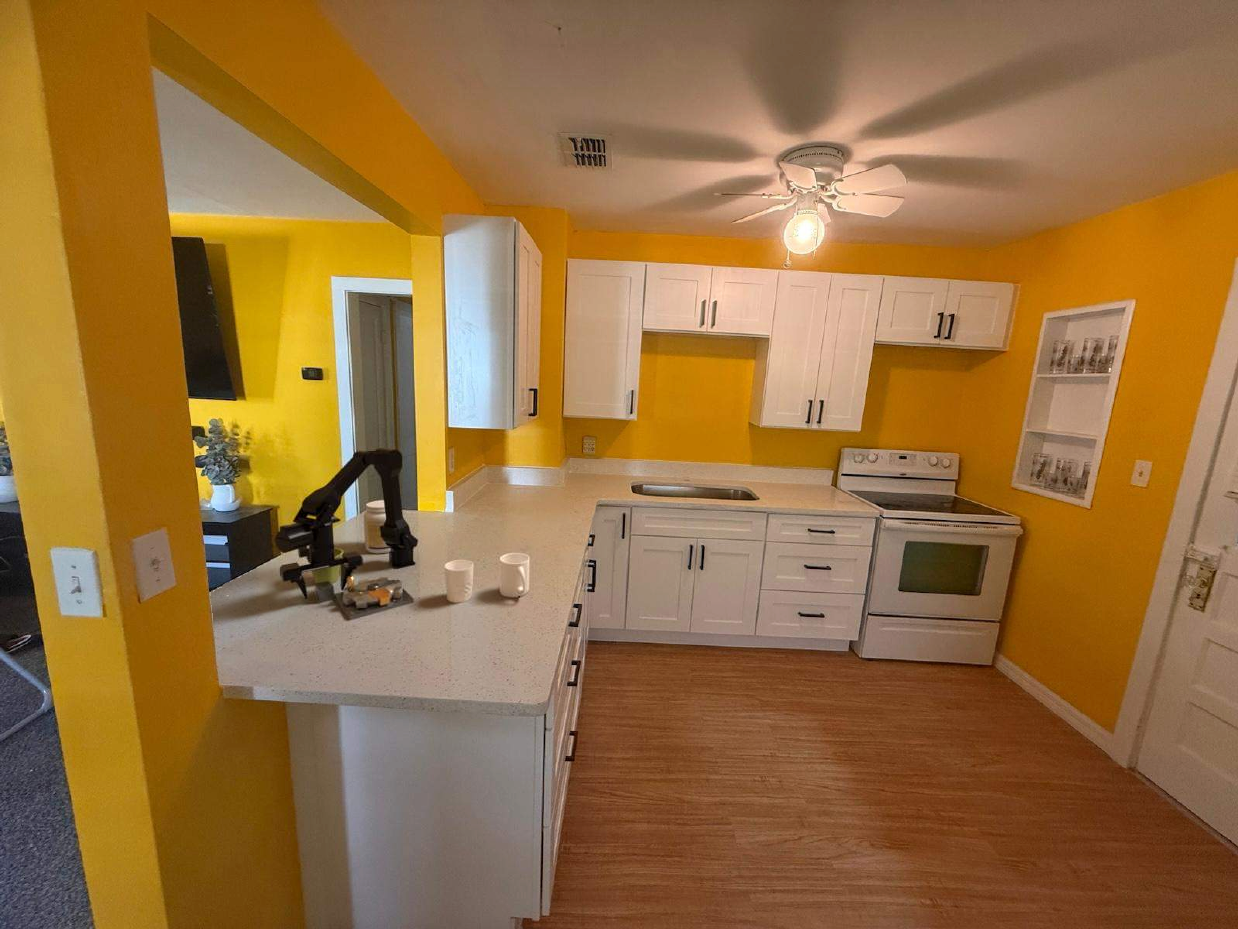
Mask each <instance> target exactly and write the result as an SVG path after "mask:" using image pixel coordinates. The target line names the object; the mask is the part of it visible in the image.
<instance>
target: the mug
mask: <svg viewBox="0 0 1238 929" xmlns="http://www.w3.org/2000/svg"><path fill="white" fill-rule="evenodd" d="M530 560H531V559H530V556H529V554H528V555H527V554H525V553H523V552H522V553H519V552H511V553H506V554H504V555H503V554H502V555H501V556H500V558H499V593H500V594H501V595H502V596H504V597H506V598H519V597H518V596H520V597H523V596H525V595H526V594H528V592H529V588H530Z"/></svg>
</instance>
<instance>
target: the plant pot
mask: <svg viewBox="0 0 1238 929" xmlns="http://www.w3.org/2000/svg"><path fill="white" fill-rule="evenodd" d="M343 553H344V550H343V549H340V548H335V547H334V556H335V559H337V558H342V554H343ZM305 559H306V560H307V557H305ZM308 564H310V562H308ZM340 568H341V565H338V566H333V567H328V568H323V569H318V570H313V571H311V573H312V578H313V581H314V584H316V583H320V582H325V581H330V583H331V584H333V583H335V582H337V581H338V580H339V578H340V577H339V576H340Z"/></svg>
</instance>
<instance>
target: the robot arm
mask: <svg viewBox="0 0 1238 929" xmlns="http://www.w3.org/2000/svg"><path fill="white" fill-rule="evenodd" d="M403 458H404V457H403V453H402V452H401V451H399V450H398V449H396V448H395V449H394V448H386V447H378V448H376V449H375V450H358V451H355V452H354V453H353V454H352V457H351V458H350V459H349V461H347V462H346V464H345V465H343V467H341V469H340V470H339V471H338V472H337V473H336V474H335V475H334V476H333V477H332V478H331V479H330V480H329V482H328V483H326V484H325V485H324V486H322V487H320V488H317V489H315V490H314V491H313V492H311V493H310V494H309V495H307V496H306V497H305V498H304V499H303V500H302V503H301V507H300V508H299V509H298V511H297V513H296V515H295V517H294V518H293V520H292V521H293V522H292V523H290V524H285V525H280V526H279V530H278V532H277V533H276V534H275V537H274V544H275V547H276V548H277V549H278V551H279V552H280V553H283V554H286V553H289V552H292V551H296V550H297V552H298V558H299V559H301V558H306V557H307V559H306V560H307V562H308V564H303V565H299V563H298V562H297V561H295V562H291V563H285V564H281V565H280V567H279V575H280V577H281V579H282V581H283V582H290V583H292V584H294V583H295V584H296V585H297V586H298V588H299V589H300V591H301V593H302V595H303V597H304V599H305V600H308V591H307V586H306V585H307V584H306V580H305V577H304V576H303V573H308V572H312V571H313V570H318V569H323V568H328V567H333V566H338V565H340V590H341V592H344V591H343V590H344V589H345V588H346V587H347V577H348V576H352V574H353V572H354V571H355V570H357V569H358V567H361V566H363V565H364V558H363V556H362V555H361V554H360V552H359V551H357V550H354V551H349V552H343V554H342V556H341V558H337V559H335V556H334V548H335V541H334V540H335V539H334V527H333V526H334V524H335V523H338V522H341V518H339V517H337V516H335V513H337V510H338V509H339V508H340V506H341V504H342V500H343V499H342V497H343V496H344V494H346V492H347V491H348V490H349V489H350V488H351V487H352V486H353V484H354V483H355V482H356V481H357V480H358V479H359V478H360V477H361V476H362V474H364V472H365V471H366V470H367V469H368V468H369V466H372V465H373V468H374V470H375V471H376V473H377V474H378V475H379V477H380V482H381V488H382V489H381V490H382V497H383V500H384V506H385V514H386V521H385V522H384V524H383V525H381V526H380V531H381V535H380V537H382V539H383V541H385V543H386V546H390V549H391V551H389V553H388V561H389V562H388V564H390V565H391V566H392V567H393V568H394V569H401V568H405V567H409V566H414V565H416V562H415V561H414V549H415V548H416V547H418V542H419V540H418V538H416V537H415V536H414V535H413V534H412V532H411V529H410V525H409V523H408V521H406V519H405V518H404V514H403V506H402V499H401V498H402V497H401V488H400V481H399V480H400V479H399V475H400V473H401V470H402V469H403ZM308 516H309V517H308ZM312 517H314V518H312ZM309 562H310V563H309Z"/></svg>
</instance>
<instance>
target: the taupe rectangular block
mask: <svg viewBox="0 0 1238 929" xmlns="http://www.w3.org/2000/svg"><path fill="white" fill-rule="evenodd" d="M313 586H314V597H315V599H316V600H317V602H318V603H319V604H323V603H327V602H330V601H335V598H334V594H335V592H334V589H335V588H334V585H333V583H330V581H325V582H320V583H314V585H313Z"/></svg>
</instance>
